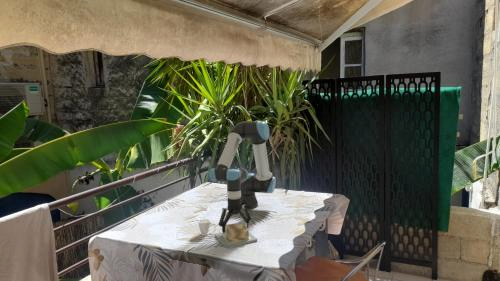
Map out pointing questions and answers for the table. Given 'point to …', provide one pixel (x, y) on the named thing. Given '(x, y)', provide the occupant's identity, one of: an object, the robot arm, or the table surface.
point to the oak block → (237, 232)
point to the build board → (231, 244)
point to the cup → (205, 226)
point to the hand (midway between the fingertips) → (235, 235)
